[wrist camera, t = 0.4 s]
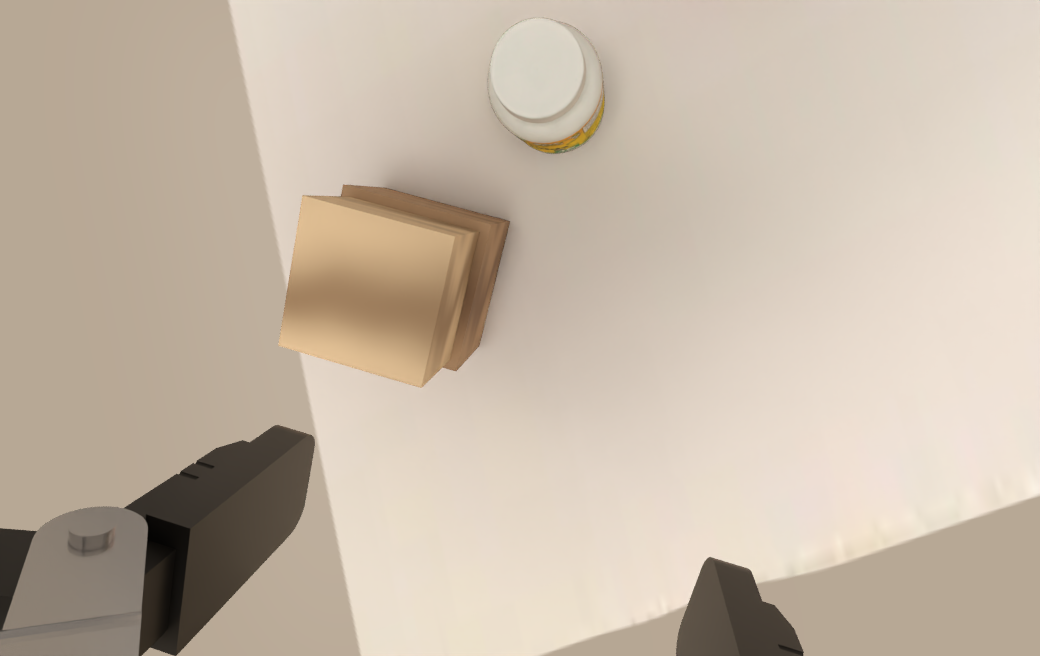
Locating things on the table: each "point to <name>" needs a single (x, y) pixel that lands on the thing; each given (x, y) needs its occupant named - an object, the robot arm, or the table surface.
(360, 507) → the table surface
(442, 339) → the tower top
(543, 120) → the supplement bottle
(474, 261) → the tower base
